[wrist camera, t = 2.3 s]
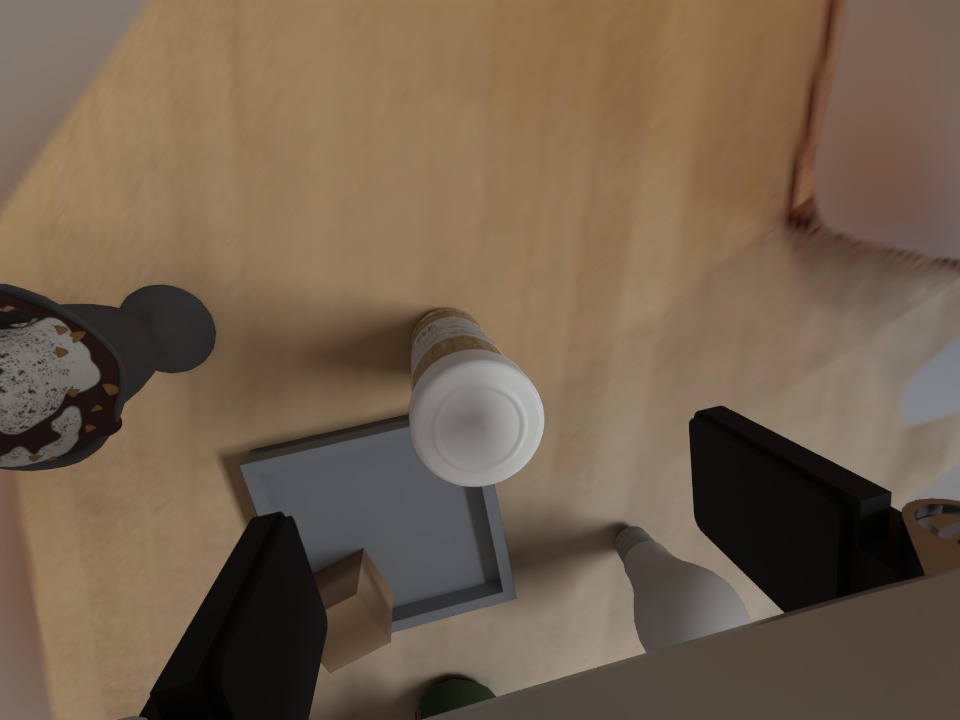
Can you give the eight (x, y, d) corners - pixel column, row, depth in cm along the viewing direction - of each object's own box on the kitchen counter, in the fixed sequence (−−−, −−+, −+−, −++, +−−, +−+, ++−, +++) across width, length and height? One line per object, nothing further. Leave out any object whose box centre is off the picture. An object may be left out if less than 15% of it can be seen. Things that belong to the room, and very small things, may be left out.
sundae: (193, 408, 26) (-69, 608, 12) (77, 341, 24) (-402, 481, 10) (257, 319, 25) (58, 415, 11) (141, 243, 24) (-274, 242, 9)
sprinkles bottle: (444, 392, 28) (473, 517, 15) (393, 340, 27) (378, 429, 14) (499, 344, 28) (574, 429, 15) (450, 289, 27) (487, 331, 14)
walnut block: (308, 576, 29) (292, 626, 25) (363, 548, 29) (356, 594, 25) (340, 619, 30) (329, 673, 26) (393, 591, 30) (390, 641, 26)
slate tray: (251, 450, 27) (239, 465, 25) (475, 399, 29) (480, 410, 27) (315, 629, 31) (309, 654, 29) (510, 577, 32) (516, 598, 31)
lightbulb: (569, 539, 32) (646, 681, 22) (632, 482, 32) (741, 598, 21) (620, 584, 34) (714, 736, 24) (680, 530, 34) (802, 660, 23)
